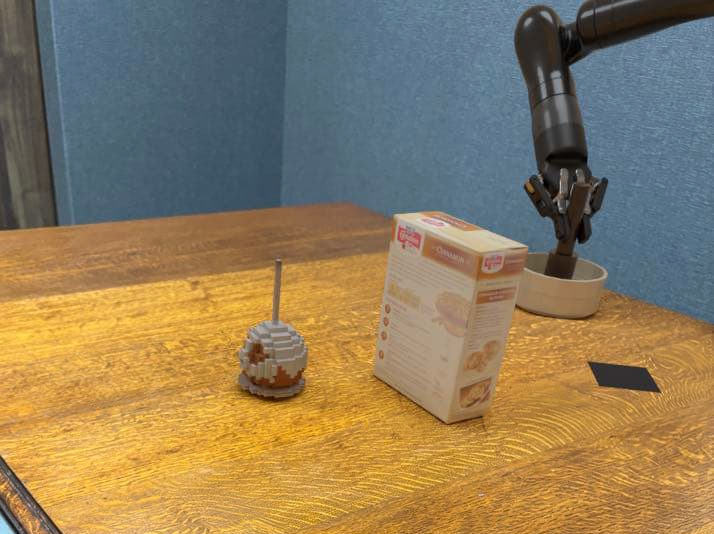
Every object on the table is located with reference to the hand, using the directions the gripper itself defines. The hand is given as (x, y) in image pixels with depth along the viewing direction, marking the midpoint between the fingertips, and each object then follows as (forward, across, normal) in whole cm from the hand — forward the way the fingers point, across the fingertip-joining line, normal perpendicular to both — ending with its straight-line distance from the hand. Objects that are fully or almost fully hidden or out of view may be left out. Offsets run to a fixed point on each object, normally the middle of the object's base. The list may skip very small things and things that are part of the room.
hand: (574, 240), depth 123 cm
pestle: (+3, 0, +6) cm, 7 cm away
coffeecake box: (+28, -32, -13) cm, 44 cm away
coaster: (+26, -4, -11) cm, 28 cm away
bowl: (+6, 0, +9) cm, 11 cm away
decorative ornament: (+26, -51, -11) cm, 58 cm away
